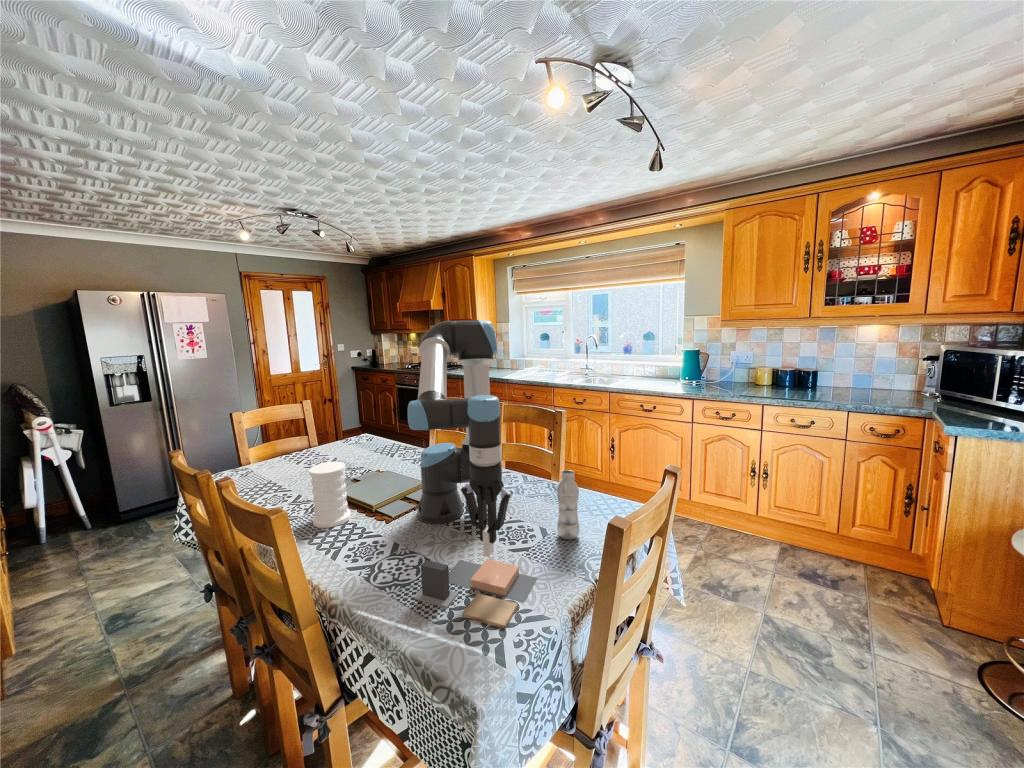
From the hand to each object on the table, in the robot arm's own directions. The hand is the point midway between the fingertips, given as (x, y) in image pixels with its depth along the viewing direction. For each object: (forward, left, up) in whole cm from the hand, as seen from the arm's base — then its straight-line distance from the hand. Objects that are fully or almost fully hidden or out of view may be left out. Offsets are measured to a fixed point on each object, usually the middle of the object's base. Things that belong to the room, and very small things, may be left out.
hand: (488, 553), depth 98 cm
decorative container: (-63, +11, -8) cm, 64 cm away
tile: (-3, 0, -6) cm, 6 cm away
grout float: (-9, -10, -8) cm, 15 cm away
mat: (0, 0, -7) cm, 7 cm away
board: (+5, -10, -7) cm, 13 cm away
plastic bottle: (+13, +27, -8) cm, 31 cm away
